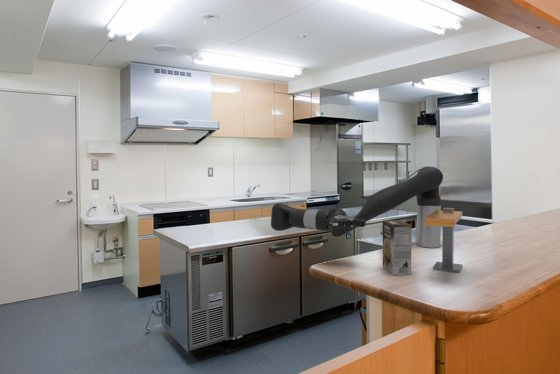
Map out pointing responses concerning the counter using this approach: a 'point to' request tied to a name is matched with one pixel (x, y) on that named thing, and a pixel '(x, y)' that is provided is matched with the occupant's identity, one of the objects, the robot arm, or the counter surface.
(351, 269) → the counter surface
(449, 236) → the grey orange pedestal
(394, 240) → the coffee box
